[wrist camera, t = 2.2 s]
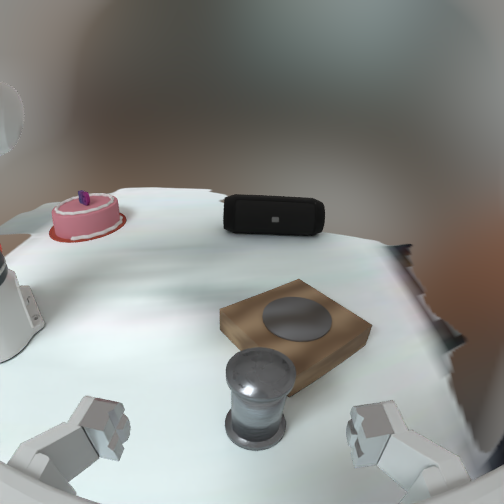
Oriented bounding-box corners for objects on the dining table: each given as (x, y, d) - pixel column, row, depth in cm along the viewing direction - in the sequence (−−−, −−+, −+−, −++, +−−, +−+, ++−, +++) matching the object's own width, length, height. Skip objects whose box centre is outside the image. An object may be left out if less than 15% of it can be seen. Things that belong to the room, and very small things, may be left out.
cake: (142, 223, 85) (139, 187, 81) (66, 252, 67) (58, 211, 62) (103, 207, 98) (100, 177, 94) (40, 228, 80) (34, 196, 75)
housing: (213, 419, 32) (209, 363, 27) (260, 395, 35) (267, 337, 31) (248, 460, 27) (253, 412, 22) (297, 430, 30) (313, 376, 26)
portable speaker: (222, 238, 78) (223, 200, 73) (225, 224, 87) (225, 189, 82) (322, 242, 79) (327, 205, 74) (314, 227, 87) (319, 194, 83)
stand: (220, 329, 46) (219, 306, 44) (296, 297, 55) (299, 276, 53) (289, 397, 35) (294, 375, 33) (365, 344, 44) (372, 323, 42)
